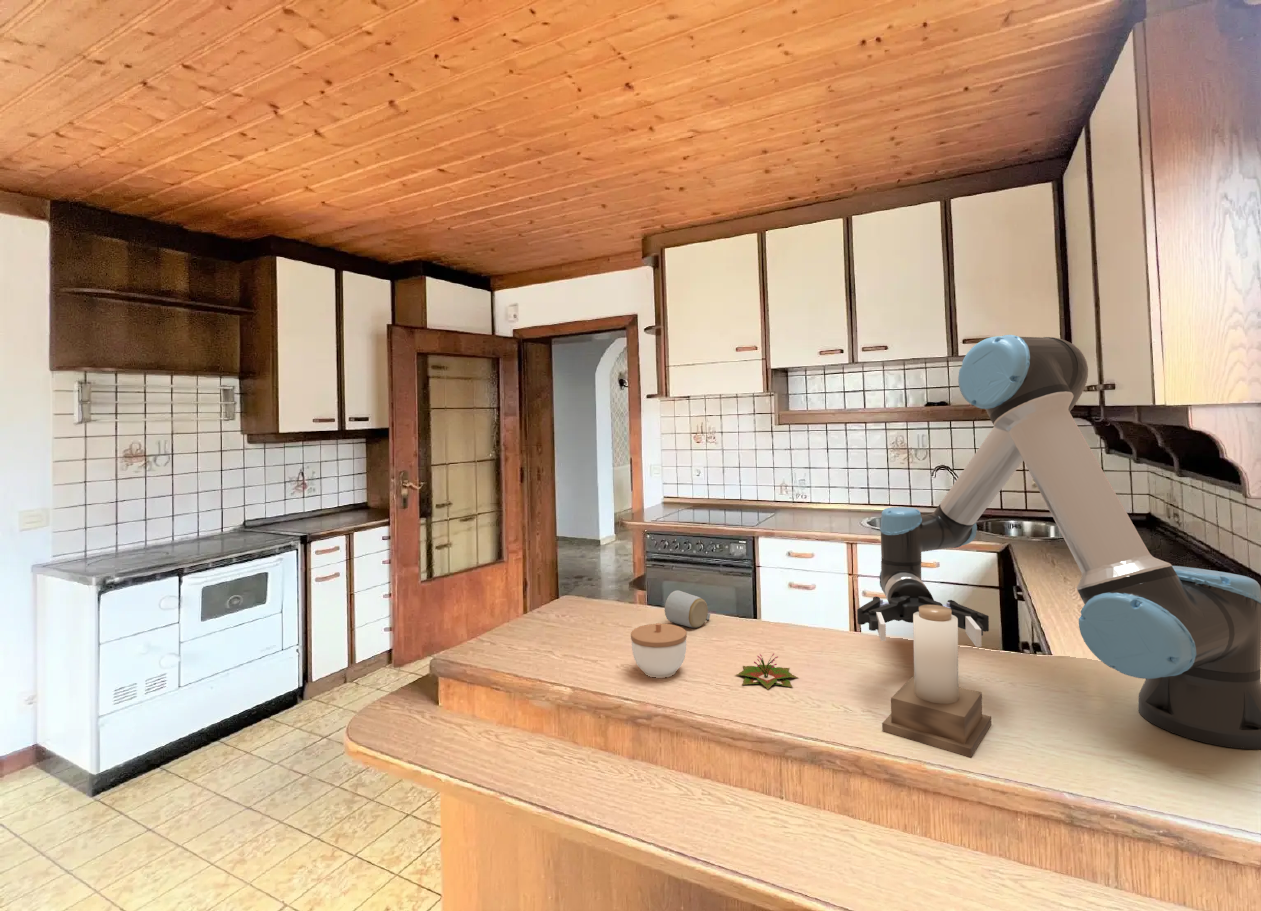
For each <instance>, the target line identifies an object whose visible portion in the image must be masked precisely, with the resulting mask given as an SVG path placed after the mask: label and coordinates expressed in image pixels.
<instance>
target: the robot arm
mask: <svg viewBox="0 0 1261 911" xmlns="http://www.w3.org/2000/svg"><path fill="white" fill-rule="evenodd" d="M961 362H962V364H961V367H960V368H959V369H958V377H957V379H958V381H957V382H958V388H959V391H960V394H961V396H962V398H963V399H964V400H965V401H966V402H967V403H968V404H970V405H972V406H974V407H975V408H978V409H984V410H985V412H986V414H987V416H988V417H989V419H990V421H991V423H992V424H993V427H992V429H991V431H990V432H989V433H988V434H987V436H986V438H985V439H984V440H983V442H982V443H981V445H980V446H979V448H978V449H977V451H976V452H975V453H974V454H973V455H972V458H971V459H970V460H969V462H968V463H967V465H966V466H965V468H964V469H963V471H962V472H961V473H960V474H959V476H958V478H957V479H956V480H955V482H954V483H953V485H952V486H951V488H950V489H949V490H948V492H947V493H946V495H945V496H944V498H943V499H942V501H941V502H940V503H939V504H938V506H937V507H936V508H935V510H934V511H933V512H932V513H929V514H927V513H926V514H921V511H920V510H919V509H918V508H916V507H907V506H902V507H901V506H897V507H887V508H884V509H883V510H882V511H881V515H880V527H879V531H880V549H881V550H880V551H881V553H880V554H881V558H880V560H881V561H880V567H881V568H880V569H881V570H880V572H879V586H880V588H881V591H882V592H883V593H884V595H885V597H886V600H887V601H884V600H883V599H882V598H880V596H873V597H872V599H871V600H870V601H869V602H867V603H865V604H863V605H862V606H860V607H858V608H857V609H856V610H857V612H856V613H857V615H856V616H857V625H860V626H861V625H865V624H868V631H873V632H875V631H877V633H878V636H879V639H880V642H886V641H887V633H886V632H887V630H886V629H887V628H886V627H887V625H886V624H887V623H889V622H892V621H898V622H900V621H903V622H905V623H910V624H913V614H914V613H916V612H919V606H922V605H940V606H945V607H948V608H950V609H951V610H952V615H954V616H956V617H957V618H958V629H962V630H965V634H966V635H967V637H968V638H969V639H970V641H971V642H972V643H973V644H974V646H975V647H976V648H977V647H978V648H981V647H982V637H983V636H984V632H989V631H990V626H989V625H990V618H989V617H990V616H989V615H988V614H985V613H982V612H979V611H978V610H975V609H973V608H970V607H966V606H965V605H962V604H960V603H958V602H957V601H955V600H954V599H953V600H952V599H948V600H947V601H946V603H945V604H943V603H941V602H938V601H936V600H935V599H934V597H933V595H932V593H931V591H930V590H929V589H928V588H927V586H926V584H925V583H924V582H923V581H922V580H923V579H922V553H924V552H931V551H936V550H943V549H944V550H945V549H953V548H954V549H956V548H959V547H962V546H966V545H969V544H971V543H972V542H973V541H974V540H975V538H976V536H977V530H978V526H977V521H978V520H979V518H980V517H981V516H982V515H983V513H984V512H985V510H986V509H987V508H988V507H989V506H990V504H991V503H992V502H993V501H994V500H995V498H996V497H997V496H998V495H999V493H1000V492H1001V490H1002V489H1003V488H1004V486H1005V485H1006V484H1007V483H1008V481H1009V480H1010V479H1011V477H1012V476H1013V475H1014V473H1015V472H1017V470H1018V469H1019V467H1020V466H1021V464H1022V463H1023V462H1024V463H1025V466H1026V467H1027V469H1028V471H1029V474H1030V475H1031V477H1032V480H1033V481H1034V484H1035V485H1036V487H1037V489H1038V491H1039V494H1040V495H1041V497H1042V499H1043V501H1044V503H1045V504H1046V506H1047V508H1048V511H1049V512H1050V514H1051V516H1052V518H1053V520H1054V522H1055V524H1056V526H1057V527H1058V530H1059V532H1060V534H1061V536H1062V537H1063V539H1064V541H1065V543H1066V545H1067V547H1068V549H1069V551H1070V553H1071V555H1072V557H1073V559H1074V561H1075V563H1076V564H1077V567H1078V569H1079V570H1080V572H1081V573H1080V574H1081V578H1080V579H1079V581H1078V584H1077V586H1076V591H1077V593H1078V594H1079V596H1080V598H1081V600H1082V602H1083V606H1082V608H1081V610H1080V616H1079V617H1078V629H1079V632H1080V635H1081V637H1082V639H1083V642H1084V643H1085V645H1086V647H1087V648H1088V649H1089V650H1090V652H1091V653H1092V654H1093V655H1094V656H1095V657H1096V658H1097V659H1098V660H1099V661H1100V662H1102V663H1103V664H1104V665H1106V666H1108V667H1109V668H1111V669H1113V670H1115V671H1117V672H1119V673H1121V674H1123V675H1125V676H1128V677H1133V678H1138V679H1142V680H1143V679H1145V680H1144V683H1143V685H1142V686H1141V689H1140V690H1139V693H1138V696H1137V697H1138V702H1137V704H1138V705H1137V706H1138V708H1137V709H1138V713H1139V715H1141V716H1142V717H1143V718H1144V719H1145V720H1147V721H1148V722H1150V723H1151V724H1153V725H1154V726H1157V727H1158V728H1161V729H1163V730H1166V731H1167V732H1169V733H1173V734H1175V735H1177V736H1181V737H1183V738H1186V739H1190V740H1193V741H1197V742H1202V743H1205V744H1209V745H1214V746H1220V747H1226V748H1232V749H1233V748H1234V749H1244V750H1245V749H1247V750H1259V749H1261V585H1260V584H1259V583H1258V581H1257V580H1255V579H1254V578H1251V577H1249V576H1245V575H1241V574H1236V573H1231V572H1225V571H1218V570H1211V569H1204V568H1198V567H1191V566H1190V567H1189V566H1188V567H1187V566H1180V565H1173V564H1171V563H1170V562H1168V561H1164V560H1162V559H1159V558H1157V557H1154V556H1153V555H1152V554H1151V553H1150V551H1149V550H1148V548H1147V546H1146V544H1145V543H1144V541H1143V539H1142V538H1141V535H1140V534H1139V532H1138V530H1137V528H1136V526H1135V525H1134V524H1133V521H1132V520H1131V518H1130V516H1129V514H1128V512H1127V511H1126V509H1125V507H1124V506H1123V504H1122V502H1121V500H1120V498H1119V497H1118V495H1117V493H1116V491H1115V490H1114V488H1113V487H1112V486H1113V485H1112V484H1111V483H1110V481H1109V478H1108V477H1107V476H1106V474H1105V472H1104V470H1103V469H1102V466H1101V465H1100V463H1099V461H1098V459H1097V458H1096V456H1095V454H1094V453H1093V450H1092V449H1091V447H1090V445H1089V444H1088V442H1087V440H1086V438H1085V437H1084V435H1083V433H1082V431H1081V430H1080V428H1079V426H1078V424H1077V423H1076V420H1075V419H1074V418H1073V416H1072V413H1071V411H1072V410H1073V408H1074V406H1076V404H1077V402H1078V401H1079V400H1080V397H1081V396H1082V394H1083V393H1084V390H1085V388H1086V385H1087V381H1088V378H1089V368H1088V367H1089V366H1088V361H1087V359H1086V358H1085V355H1084V353H1083V352H1082V351H1081V349H1079V347H1077V346H1076V345H1075V344H1073V343H1071V342H1070V341H1067V340H1065V339H1062V338H1058V337H1052V336H1051V337H1050V336H1043V337H1041V336H1038V337H1037V336H1018V335H1015V334H1004V335H1002V336H1001V335H1000V336H999V335H997V336H991V337H987V338H985V339H983V340H981V341H979V342H978V343H976V344H975V345H973V347H971V348H970V349H969V351H967V353H966V355H965V356H964V358H963V360H962V361H961Z"/></svg>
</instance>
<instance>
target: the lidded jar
mask: <svg viewBox="0 0 1261 911" xmlns="http://www.w3.org/2000/svg"><path fill="white" fill-rule="evenodd" d="M687 634H688V632H687V631H686V629H684V627H681V626H679V625H677V624H676V625H675V624H671V623H660V622H658V623H651V624H646V625H641V626H638V627H635V628H634V629H633V630H632V631H631V632H630V640H631V649H632V650H631V651H632V655H633V659H634V661H635V664H636V665H637V667H638V668H639V669H640V670H641V671H642V672H643V673H645V674H646V675H648V676H647V677H649V676H650V677H649V678H652V677H656V678H655V679H665V677H667V678H670V677H672V675H673V676H674V675H675V674H676V672H677V671H678V670H679V668H681V667H682V665H683V663H684V661H685V658H686V657H685V656H686V653H687V652H686V651H687V637H688V635H687ZM645 674H644V675H645ZM646 675H645V676H646Z"/></svg>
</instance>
